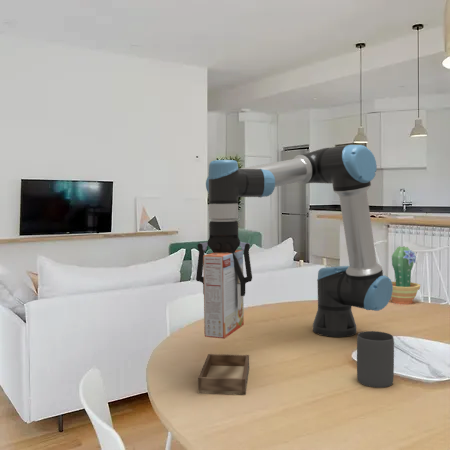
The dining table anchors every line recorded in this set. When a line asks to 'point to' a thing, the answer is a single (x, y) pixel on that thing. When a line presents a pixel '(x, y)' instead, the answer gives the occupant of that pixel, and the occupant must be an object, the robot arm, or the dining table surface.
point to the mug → (375, 359)
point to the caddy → (224, 374)
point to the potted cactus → (403, 276)
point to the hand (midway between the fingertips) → (224, 308)
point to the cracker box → (222, 294)
